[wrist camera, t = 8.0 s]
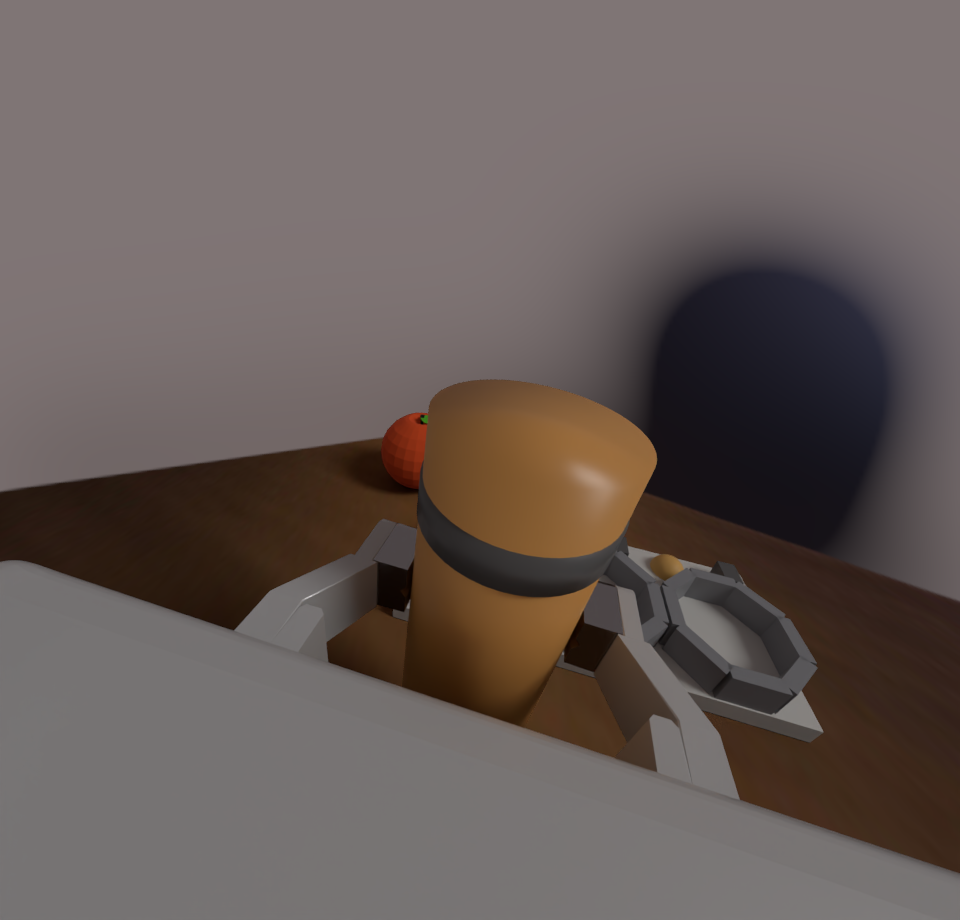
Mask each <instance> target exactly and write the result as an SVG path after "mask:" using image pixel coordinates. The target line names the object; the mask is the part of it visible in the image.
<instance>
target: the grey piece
mask: <svg viewBox="0 0 960 920" xmlns="http://www.w3.org/2000/svg"><path fill="white" fill-rule="evenodd" d="M599 581H601V582H605V583H608V584H612V585H614V586H615V585H616V586H619V587H623V588H626V589H630V590H633V591H634V593H635V596H636V601H637V606H638V612H639V617H640V622H641V627H642V632H643V637H644V642H647V643H650V644H651V646H652V647H653V648H654V650H655V651H656V652H657V654H658V655H659V656H660V657H661V659H662V660H663V661H664V663H665V664H666V665H667V667H668V668H669V669H670V670H671V672H672V673H673V674H674V676H675V677H676V678H677V680H678V681H679V682H680V683H681V685H682V686H683V687H684V689H685V690H686V691H687V693H688V694H689V695H690V696H691V698H692V699H693V700H694V702H695V703H696V704H697V706H698V707H699V708H700V709H701V710H703V711H707V712H710V713H713V714H717V715H720V716H723V717H726V718H730V719H733V720H736V721H740V722H743V723H746V724H750V725H753V726H756V727H760V728H763V729H766V730H770V731H773V732H776V733H779V734H783V735H786V736H789V737H793V738H796V739H799V740H803V741H806V742H809V743H810V742H811V741H812V740H814V739H815V738H817V737H818V736H819V735H821V734H822V733H823V730H822V728H821V727H820V725H819V723H818V721H817V719H816V717H815V715H814V713H813V711H812V710H811V708H810V706H809V704H808V702H807V700H806V698H805V696H804V695H803V693H802V691H801V690H802V689H803V687H804V686H805V685H806V683H807V682H808V680H809V679H810V678H811V676H812V675H813V674H814V672H815V671H816V670H817V667H816V666H815V665H816V664H817V663H816V661H815V660H814V658H813V656H812V655H811V653H810V651H809V650H808V648H807V646H806V645H805V643H804V641H803V640H802V638H801V636H800V635H799V633H798V632H797V630H796V628H795V627H794V625H793V623H792V622H791V620H790V619H787V618H784V616H785V614H784V613H782V612H781V611H780V610H778V609H777V608H775V607H774V606H773V605H771V604H770V603H768V602H767V601H766V600H764V599H763V598H762V597H760V596H759V595H757V594H756V593H755V592H753V591H752V590H750V589H749V588H748V587H746V586H745V584H744V582H743V580H742V578H741V576H740V575H739V573H738V572H737V570H736V568H735V566H734V565H731V564H727V563H724V562H720V561H717V562H716V564H715V565H714V567H713V568H710V567H707V566H703V565H699V564H695V563H691V562H687V561H683V560H679V559H677V558H675V557H673V556H671V555H667V554H661V555H660V554H656V553H652V552H648V551H644V550H641V549H637V548H633V547H629V546H628V545H627V540H626V538H625V537H623V539H622V541H621V543H620V545H619V547H618V549H617V551H616V553H615V555H614V557H613V559H612V560H611V562H610V564H609V566H608V568H607V569H606V571H605V572H604V574H603V575H602V576H601V577H600V579H599ZM409 608H410V601H409V603H408V605H407V607H406V609H405V611H404V612H401V611H398V610H394V609H393V617H395V618H399V619H402V620H405V621H408V618H409ZM556 666H558V667H561V668H564V669H568V670H571V671H574V672H578V673H581V674H584V675H587V676H591V677H594V678H595V676H594V672H591V671H588V670H585V669H582V668H579V667H576V666H574V665H571V664H568V663H565V662H564V650H563V652H562V654H561V656H560V658H559V660H558V662H557V664H556Z"/></svg>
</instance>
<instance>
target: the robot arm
mask: <svg viewBox="0 0 960 920" xmlns="http://www.w3.org/2000/svg"><path fill="white" fill-rule="evenodd" d="M416 535H417V529H415V528H412V527H409V526H406V525H402V524H399V523H395V522H392V521H389V520H385V519H382V520H381V521H379V523H378V524H377V525H376V527H375V528H374V529H373V531H372V532H371V534H370V535H369V536H368V538H367V539H366V541H365V542H364V543H363V545H362V546H361V547H360V549H359V550H358V552H357V553H356V554H355V555H353V554H349V555H347V556H345V557H342V558H340V559H338V560H336V561H334V562H332V563H329V564H327V565H325V566H323V567H321V568H318V569H316V570H314V571H312V572H310V573H307V574H305V575H303V576H301V577H299V578H297V579H294V580H292V581H290V582H288V583H286V584H283V585H281V586H279V587H277V588H275V589H273V590H270V591H269V593H268V594H267V595H266V596H265V597H264V598H263V599H262V600H261V601H260V603H259V604H258V605H257V606H256V607H255V608H254V609H253V610H252V611H251V613H250V614H249V615H248V616H247V617H246V618H245V619H244V620H243V621H242V622H241V624H240V625H239V626H238V627H237V628H236V629H235V630H234V631H233V630H230V629H227V628H224V627H221V626H218V625H215V624H212V623H209V622H206V621H203V620H200V619H197V618H194V617H191V616H188V615H185V614H182V613H179V612H176V611H173V610H170V609H167V608H164V607H161V606H158V605H155V604H152V603H149V602H146V601H143V600H140V599H137V598H134V597H131V596H129V595H126V594H123V593H120V592H117V591H114V590H111V589H108V588H105V587H102V586H99V585H96V584H93V583H90V582H87V581H84V580H81V579H78V578H75V577H72V576H69V575H66V574H63V573H60V572H57V571H54V570H51V569H48V568H46V567H43V566H40V565H37V564H34V563H30V562H26V561H17V560H13V561H4V562H0V920H960V873H957V872H954V871H951V870H948V869H945V868H942V867H939V866H936V865H933V864H930V863H927V862H924V861H921V860H918V859H915V858H912V857H909V856H906V855H903V854H900V853H897V852H894V851H891V850H888V849H885V848H882V847H879V846H876V845H873V844H870V843H867V842H864V841H861V840H858V839H855V838H852V837H849V836H846V835H843V834H840V833H837V832H834V831H831V830H828V829H825V828H822V827H819V826H816V825H813V824H810V823H807V822H804V821H801V820H798V819H795V818H792V817H789V816H786V815H783V814H780V813H777V812H774V811H771V810H768V809H765V808H762V807H759V806H756V805H753V804H750V803H747V802H744V801H741V800H740V799H739V796H738V793H737V789H736V786H735V783H734V780H733V776H732V773H731V770H730V767H729V763H728V760H727V757H726V754H725V750H724V747H723V744H722V741H721V737H720V734H719V733H718V732H717V730H716V729H715V728H714V726H713V725H712V724H711V722H710V721H709V720H708V719H707V717H706V716H705V715H704V713H703V712H702V711H701V709H700V708H699V707H698V706H697V704H696V703H695V702H694V700H693V699H692V698H691V696H690V695H689V694H688V693H687V691H686V690H685V689H684V687H683V686H682V685H681V683H680V682H679V681H678V680H677V678H676V677H675V676H674V674H673V673H672V672H671V670H670V669H669V668H668V667H667V665H666V664H665V663H664V661H663V660H662V659H661V657H660V656H659V655H658V654H657V652H656V651H655V650H654V648H653V647H652V646H651V644H650V643H647V642H644V637H643V632H642V627H641V622H640V617H639V612H638V606H637V601H636V596H635V593H634V591H633V590H630V589H626V588H623V587H619V586H616V585H615V586H614V585H612V584H608V583H605V582H601V581H598V583H597V585H596V587H595V589H594V591H593V593H592V594H591V596H590V598H589V600H588V602H587V604H586V606H585V608H584V610H583V612H582V614H581V616H580V618H579V620H578V622H577V624H576V626H575V628H574V630H573V632H572V634H571V636H570V638H569V640H568V642H567V644H566V646H565V648H564V662H565V663H568V664H571V665H574V666H576V667H579V668H582V669H585V670H588V671H591V672H594V676H595V678H596V680H597V682H598V684H599V686H600V688H601V690H602V692H603V694H604V696H605V698H606V701H607V703H608V705H609V707H610V709H611V711H612V713H613V715H614V717H615V719H616V721H617V723H618V725H619V727H620V729H621V731H622V733H623V735H624V737H625V739H626V741H627V744H626V745H625V747H624V748H623V749H622V750H621V751H620V752H619V753H618V754H617V755H616V757H615V758H613V757H610V756H607V755H604V754H601V753H598V752H595V751H592V750H589V749H586V748H583V747H580V746H577V745H574V744H571V743H568V742H565V741H562V740H559V739H556V738H553V737H550V736H547V735H544V734H541V733H538V732H535V731H532V730H529V729H526V728H523V727H520V726H517V725H514V724H511V723H508V722H505V721H502V720H499V719H496V718H493V717H490V716H487V715H484V714H481V713H478V712H475V711H472V710H469V709H466V708H463V707H460V706H457V705H454V704H451V703H448V702H445V701H442V700H439V699H436V698H433V697H430V696H427V695H424V694H421V693H418V692H415V691H412V690H409V689H406V688H403V687H400V686H397V685H394V684H391V683H388V682H385V681H382V680H379V679H376V678H373V677H370V676H367V675H364V674H361V673H358V672H355V671H352V670H349V669H346V668H343V667H340V666H337V665H334V664H331V663H328V655H327V645H326V642H327V641H329V640H330V639H331V638H333V637H334V636H336V635H337V634H338V633H340V632H341V631H343V630H344V629H345V628H347V627H348V626H350V625H351V624H352V623H354V622H355V621H357V620H358V619H359V618H361V617H362V616H364V615H365V614H366V613H368V612H369V611H371V610H372V609H373V608H375V607H376V605H380V606H383V607H387V608H390V609H394V610H398V611H401V612H404V611H405V609H406V607H407V605H408V603H409V601H410V597H411V587H412V577H413V566H414V556H415V546H416Z"/></svg>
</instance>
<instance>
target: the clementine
mask: <svg viewBox="0 0 960 920" xmlns="http://www.w3.org/2000/svg"><path fill="white" fill-rule="evenodd" d="M427 422H428V414H427V413H413V414H409V415H406V416H404V417H402V418H400V419H399V420H397V421H396V422H395V423H394V424H393V425H392V426H391V427H390V428H389V429H388V430H387V432H386V434H385V436H384V438H383V442H382V448H381V454H382V460H383V464H384V466H385V468H386V470H387V472H388V473H389V475H390V476H391V477H392V478H393V479H394V480H395V481H397V482H398V483H399V484H401V485H403V486H406V487H409V488H413V489H419V481H420V470H421V466H422V463H423V460H424V453H425V443H426V432H427Z"/></svg>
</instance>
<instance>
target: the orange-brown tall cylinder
mask: <svg viewBox="0 0 960 920" xmlns="http://www.w3.org/2000/svg"><path fill="white" fill-rule="evenodd" d="M656 463H657V455H656V452H655V449H654V447H653V445H652V443H651V442H650V440H649V439H648V438H647V436H646V435H645V434H644V433H643V432H642V431H641V430H640V429H639V428H637V427H636V426H635V425H634V424H632V423H631V422H630V421H628V420H627V419H625V418H624V417H622V416H621V415H619V414H617V413H616V412H614V411H612V410H610V409H608V408H606V407H605V406H603V405H600V404H598V403H596V402H594V401H591V400H589V399H586V398H584V397H581V396H578V395H575V394H573V393H570V392H566V391H563V390H560V389H556V388H552V387H548V386H543V385H539V384H533V383H527V382H520V381H510V380H475V381H468V382H462V383H458V384H455V385H452V386H449V387H447V388H445V389H443V390H441V391H440V392H439V393H437V394H436V395H435V396H434V397H433V399H432V400H431V402H430V405H429V412H428V422H427V432H426V443H425V453H424V460H423V463H422V466H421V470H420V481H419V492H418V503H417V518H418V525H417V535H416V546H415V556H414V566H413V577H412V587H411V597H410V608H409V618H408V628H407V638H406V649H405V659H404V669H403V680H402V687H403V688H406V689H409V690H412V691H415V692H418V693H421V694H424V695H427V696H430V697H433V698H436V699H439V700H442V701H445V702H448V703H451V704H454V705H457V706H460V707H463V708H466V709H469V710H472V711H475V712H478V713H481V714H484V715H487V716H490V717H493V718H496V719H499V720H502V721H505V722H508V723H511V724H514V725H517V726H520V727H523V728H525V726H526V724H527V722H528V720H529V718H530V716H531V714H532V712H533V710H534V708H535V706H536V704H537V702H538V700H539V698H540V696H541V694H542V692H543V690H544V688H545V686H546V684H547V682H548V680H549V678H550V676H551V674H552V672H553V670H554V668H555V666H556V664H557V662H558V660H559V658H560V656H561V654H562V652H563V650H564V648H565V646H566V644H567V642H568V640H569V638H570V636H571V634H572V632H573V630H574V628H575V626H576V624H577V622H578V620H579V618H580V616H581V614H582V612H583V610H584V608H585V606H586V604H587V602H588V600H589V598H590V596H591V594H592V593H593V591H594V589H595V587H596V585H597V583H598V581H599V579H600V577H601V576H602V575H603V574H604V572H605V571H606V569H607V568H608V566H609V564H610V562H611V560H612V559H613V557H614V555H615V553H616V551H617V549H618V547H619V545H620V543H621V541H622V539H623V537H624V535H625V533H626V531H627V528H628V525H629V519H630V517H631V515H632V513H633V511H634V509H635V507H636V505H637V503H638V501H639V499H640V497H641V495H642V493H643V491H644V489H645V487H646V485H647V483H648V481H649V479H650V477H651V475H652V473H653V471H654V469H655V466H656Z"/></svg>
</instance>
